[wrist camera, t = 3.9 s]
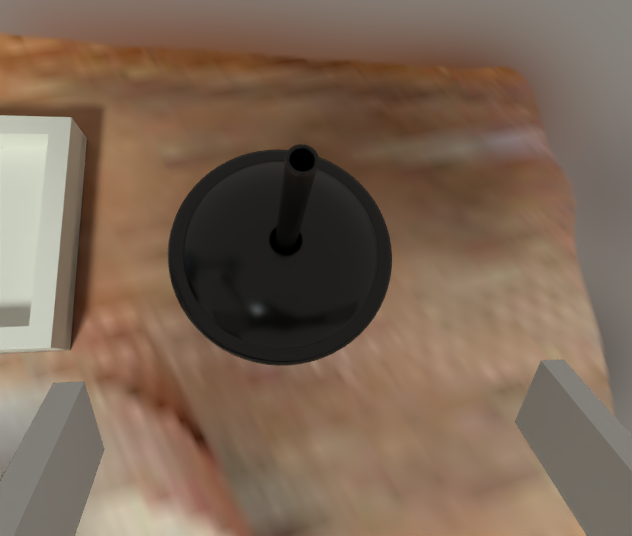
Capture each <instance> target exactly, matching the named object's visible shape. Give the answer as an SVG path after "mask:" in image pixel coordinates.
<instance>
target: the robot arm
mask: <svg viewBox="0 0 632 536" xmlns="http://www.w3.org/2000/svg"><path fill="white" fill-rule="evenodd" d="M515 423H516V425H517V426H518V428H519V429H520V431H521V433H522V434H523V436H524V437H525V439H526V440H527V442H528V444H529V445H530V447H531V448H532V450H533V451H534V453H535V455H536V456H537V458H538V459H539V461H540V463H541V464H542V466H543V467H544V469H545V470H546V472H547V474H548V475H549V477H550V478H551V480H552V481H553V483H554V485H555V486H556V488H557V489H558V491H559V493H560V494H561V496H562V497H563V499H564V500H565V502H566V504H567V505H568V507H569V508H570V510H571V511H572V513H573V515H574V516H575V518H576V519H577V521H578V523H579V524H580V526H581V527H582V529H583V530H584V532H585V534H586V535H587V536H632V436H631V435H630V433H629V432H628V431H627V430H626V429H625V428H624V427H623V426H622V425H621V423H620V422H619V421H618V420H617V419H616V418H615V417H614V415H613V414H612V413H611V412H610V411H609V410H608V409H607V408H606V406H605V405H604V404H603V403H602V402H601V401H600V400H599V399H598V397H597V396H596V395H595V394H594V393H593V392H592V391H591V390H590V388H589V387H588V386H587V385H586V384H585V383H584V382H583V380H582V379H581V378H580V377H579V376H578V375H577V374H576V373H575V371H574V370H573V369H572V368H571V367H570V366H569V365H568V364H567V362H566V361H565V360H543V361H541V362H540V364H539V366H538V369H537V371H536V374H535V376H534V378H533V381H532V383H531V385H530V388H529V390H528V392H527V395H526V397H525V399H524V402H523V404H522V406H521V409H520V411H519V413H518V416H517V418H516V420H515ZM103 452H104V446H103V443H102V439H101V436H100V433H99V429H98V426H97V423H96V419H95V416H94V413H93V409H92V406H91V402H90V399H89V396H88V392H87V389H86V386H85V382H65V383H53V385H52V386H51V388H50V390H49V392H48V394H47V396H46V397H45V399H44V401H43V403H42V405H41V407H40V409H39V410H38V412H37V414H36V416H35V418H34V420H33V421H32V423H31V425H30V427H29V429H28V431H27V433H26V434H25V436H24V438H23V440H22V442H21V444H20V446H19V447H18V449H17V451H16V453H15V455H14V457H13V458H12V460H11V462H10V464H9V466H8V468H7V470H6V471H5V473H4V475H3V477H2V479H1V481H0V536H75V533H76V530H77V527H78V525H79V522H80V519H81V516H82V513H83V510H84V507H85V504H86V501H87V498H88V495H89V492H90V490H91V487H92V484H93V481H94V478H95V475H96V472H97V469H98V466H99V463H100V460H101V457H102V455H103Z"/></svg>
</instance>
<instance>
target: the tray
mask: <svg viewBox="0 0 632 536" xmlns="http://www.w3.org/2000/svg"><path fill="white" fill-rule="evenodd" d="M86 145H87V138H86V137H85V135H84V134H83V132H82V131H81V130H80V128H79V127H78V126H77V124H76V123H75V121H74V120H73V119H72V117H44V116H4V115H0V353H19V352H41V351H63V350H70V346H71V334H72V321H73V309H74V296H75V283H76V271H77V258H78V246H79V233H80V221H81V208H82V195H83V183H84V170H85V158H86Z"/></svg>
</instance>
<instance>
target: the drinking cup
mask: <svg viewBox="0 0 632 536" xmlns="http://www.w3.org/2000/svg"><path fill="white" fill-rule="evenodd" d="M168 267H169V274H170V279H171V282H172V286H173V289H174V292H175V295H176V297H177V299H178V301H179V303H180V305H181V307H182V309H183V311H184V312H185V314H186V315H187V317H188V318H189V320H190V321H191V322H192V323H193V325H194V326H195V327H196V328H197V329H198V330H199V331H200V332H201V333H202V334H203V335H204V336H205V337H206V338H208V339H209V340H210V341H211V342H212V343H214V344H215V345H217V346H218V347H220V348H221V349H223V350H225V351H227V352H229V353H230V354H232V355H235V356H237V357H240V358H242V359H245V360H248V361H252V362H255V363H261V364H267V365H296V364H303V363H307V362H311V361H315V360H318V359H321V358H324V357H326V356H328V355H330V354H333V353H335V352H336V351H338V350H340V349H342V348H343V347H345V346H346V345H347V344H349V343H350V342H352V341H353V340H354V339H355V338H356V337H357V336H359V335H360V334H361V333H362V332H363V330H364V329H365V328H366V327H367V326H368V325H369V324H370V322H371V321H372V320H373V318H374V317H375V315H376V314H377V312H378V310H379V308H380V307H381V304H382V302H383V300H384V298H385V295H386V292H387V289H388V285H389V281H390V276H391V268H392V251H391V243H390V237H389V234H388V230H387V226H386V224H385V221H384V219H383V216H382V214H381V212H380V210H379V208H378V206H377V205H376V203H375V201H374V200H373V199H372V197H371V196H370V194H369V193H368V192H367V191H366V190H365V188H364V187H363V186H362V185H361V184H360V183H359V182H358V181H357V180H356V179H355V178H353V177H352V176H351V175H350V174H348V173H347V172H346V171H344V170H343V169H341V168H340V167H338V166H337V165H335V164H333V163H331V162H329V161H327V160H325V159H322V158H320V157H318V154H317V153H316V151H315V150H314V149H313V148H311V147H309V146H307V145H295V146H293V147H291V148H290V149H289V150H265V151H258V152H253V153H249V154H245V155H242V156H239V157H237V158H234V159H232V160H230V161H227V162H226V163H224V164H222V165H220V166H218V167H217V168H216V169H214V170H213V171H211V172H210V173H209V174H207V175H206V176H205V177H204V178H203V179H201V180H200V181H199V182H198V183H197V184H196V185H195V187H194V188H193V189H192V190H191V191H190V193H189V194H188V195H187V197H186V198H185V200H184V201H183V203H182V205H181V207H180V208H179V210H178V212H177V215H176V217H175V220H174V222H173V226H172V229H171V233H170V238H169V245H168Z"/></svg>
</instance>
